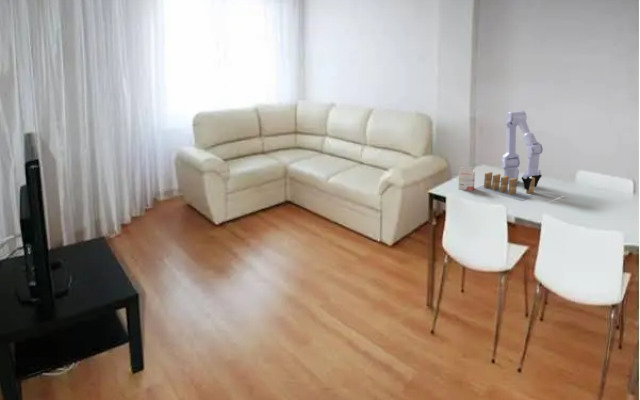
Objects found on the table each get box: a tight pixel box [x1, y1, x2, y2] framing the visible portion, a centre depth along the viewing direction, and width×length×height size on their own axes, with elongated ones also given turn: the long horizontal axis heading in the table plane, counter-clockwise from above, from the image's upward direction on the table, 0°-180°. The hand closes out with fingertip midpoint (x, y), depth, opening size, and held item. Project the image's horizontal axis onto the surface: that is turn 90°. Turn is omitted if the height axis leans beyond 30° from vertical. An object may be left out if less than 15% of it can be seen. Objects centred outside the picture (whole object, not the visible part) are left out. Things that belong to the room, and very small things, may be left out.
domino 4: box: [508, 178, 518, 195], centre depth 273 cm, size 2×5×9 cm, turn 125°
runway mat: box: [475, 184, 535, 202], centre depth 278 cm, size 12×31×1 cm, turn 35°
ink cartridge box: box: [457, 166, 476, 192], centre depth 284 cm, size 9×5×15 cm, turn 62°
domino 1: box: [483, 171, 493, 188], centre depth 286 cm, size 2×5×9 cm, turn 126°
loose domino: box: [525, 176, 535, 195], centre depth 273 cm, size 2×5×9 cm, turn 126°
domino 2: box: [492, 173, 501, 191], centre depth 281 cm, size 2×5×9 cm, turn 126°
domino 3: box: [499, 176, 509, 193], centre depth 277 cm, size 2×5×9 cm, turn 126°
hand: (530, 188), depth 274 cm, fingers open, 7 cm apart
